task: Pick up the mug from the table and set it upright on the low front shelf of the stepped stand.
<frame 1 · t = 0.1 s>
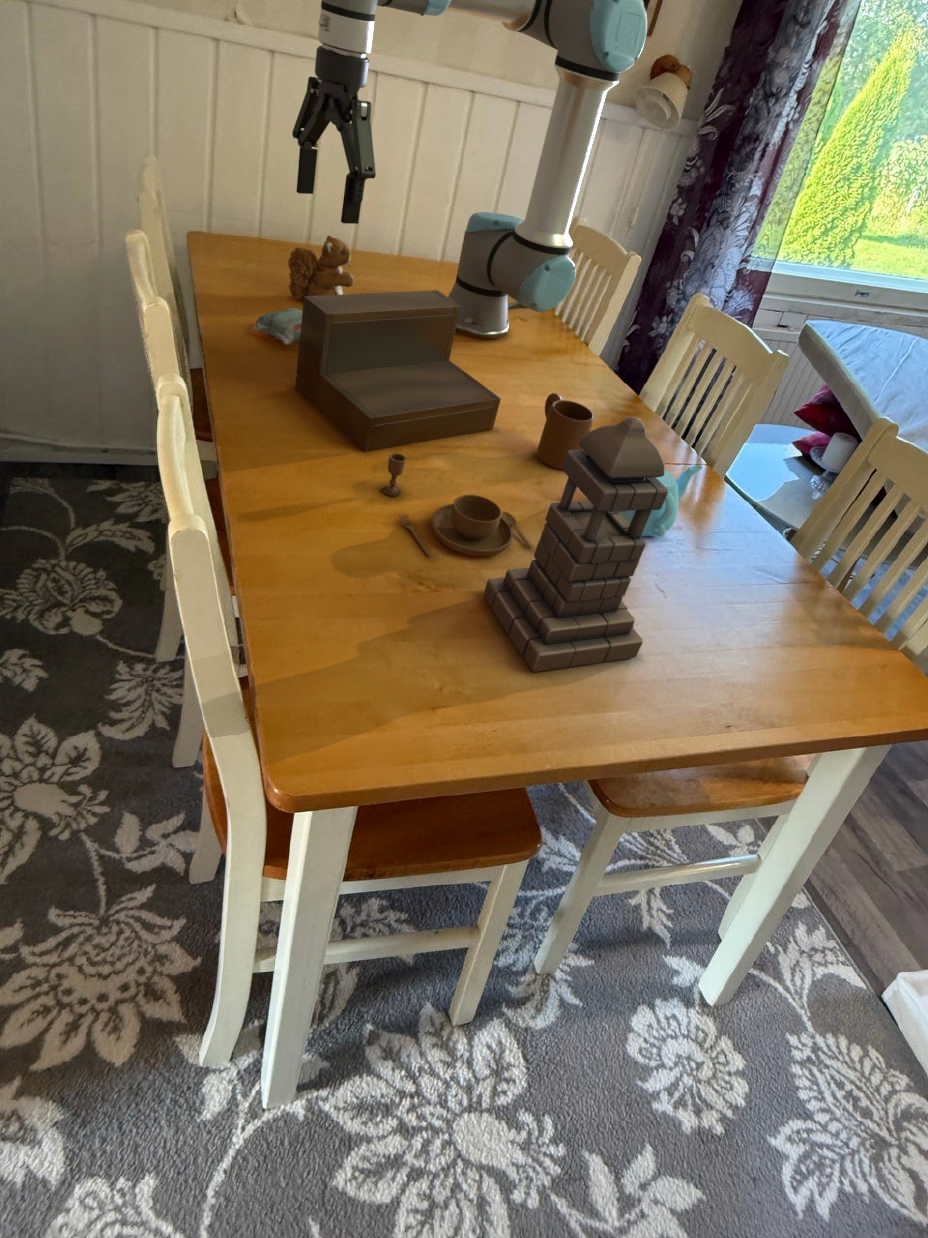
hand: (326, 207, 135), 28 cm above the table, tool pointing down, fingers open, 13 cm apart
stuffed squirrel: (317, 302, 179), on the table
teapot: (633, 524, 136), on the table
stepped stand: (395, 409, 149), on the table
packaged food: (292, 340, 162), on the table
place setting: (456, 521, 125), on the table
mug: (551, 454, 149), on the table
miniature tower: (559, 628, 111), on the table
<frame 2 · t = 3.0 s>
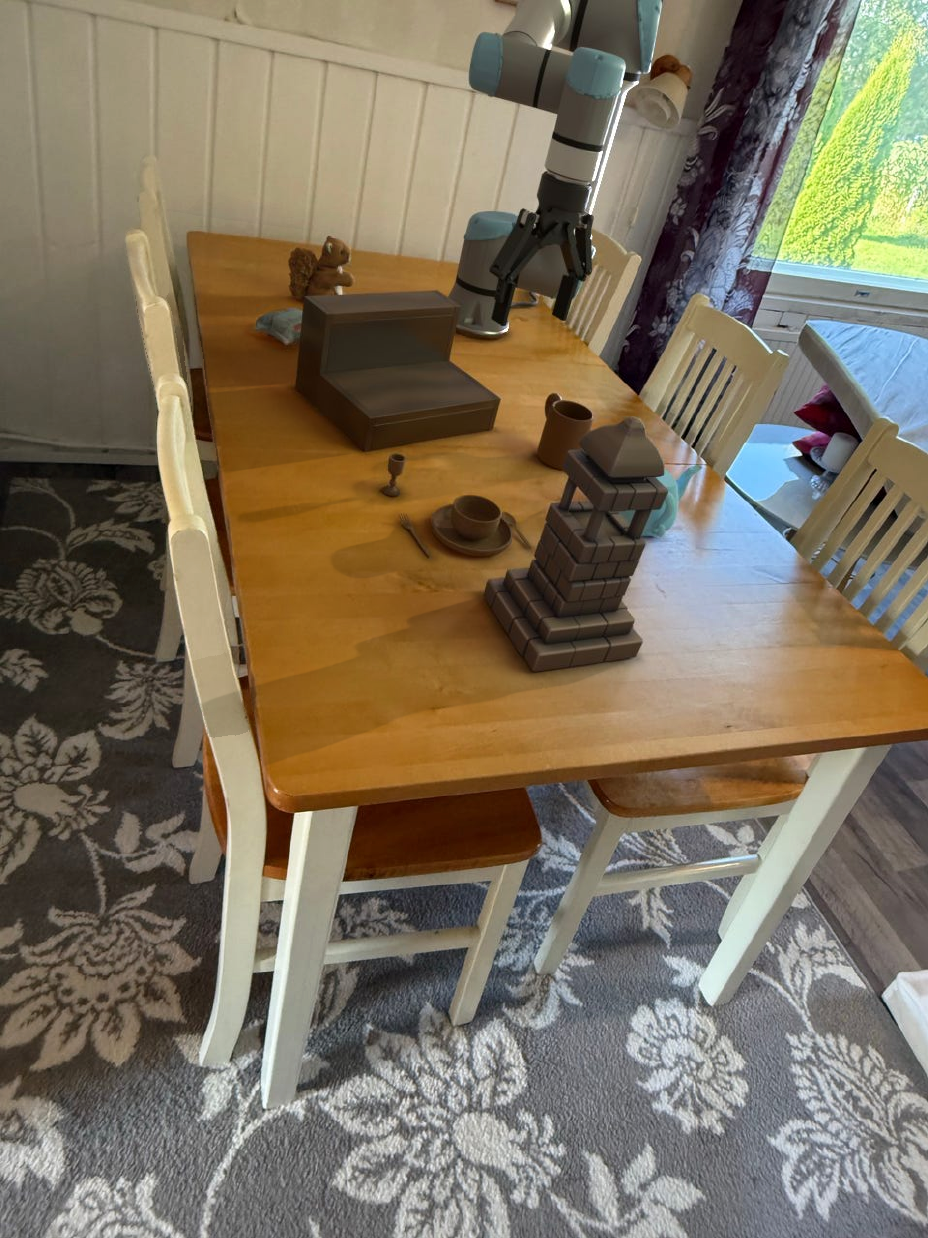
hand: (529, 320, 136), 21 cm above the table, tool pointing down, fingers open, 13 cm apart
nothing on the table moved.
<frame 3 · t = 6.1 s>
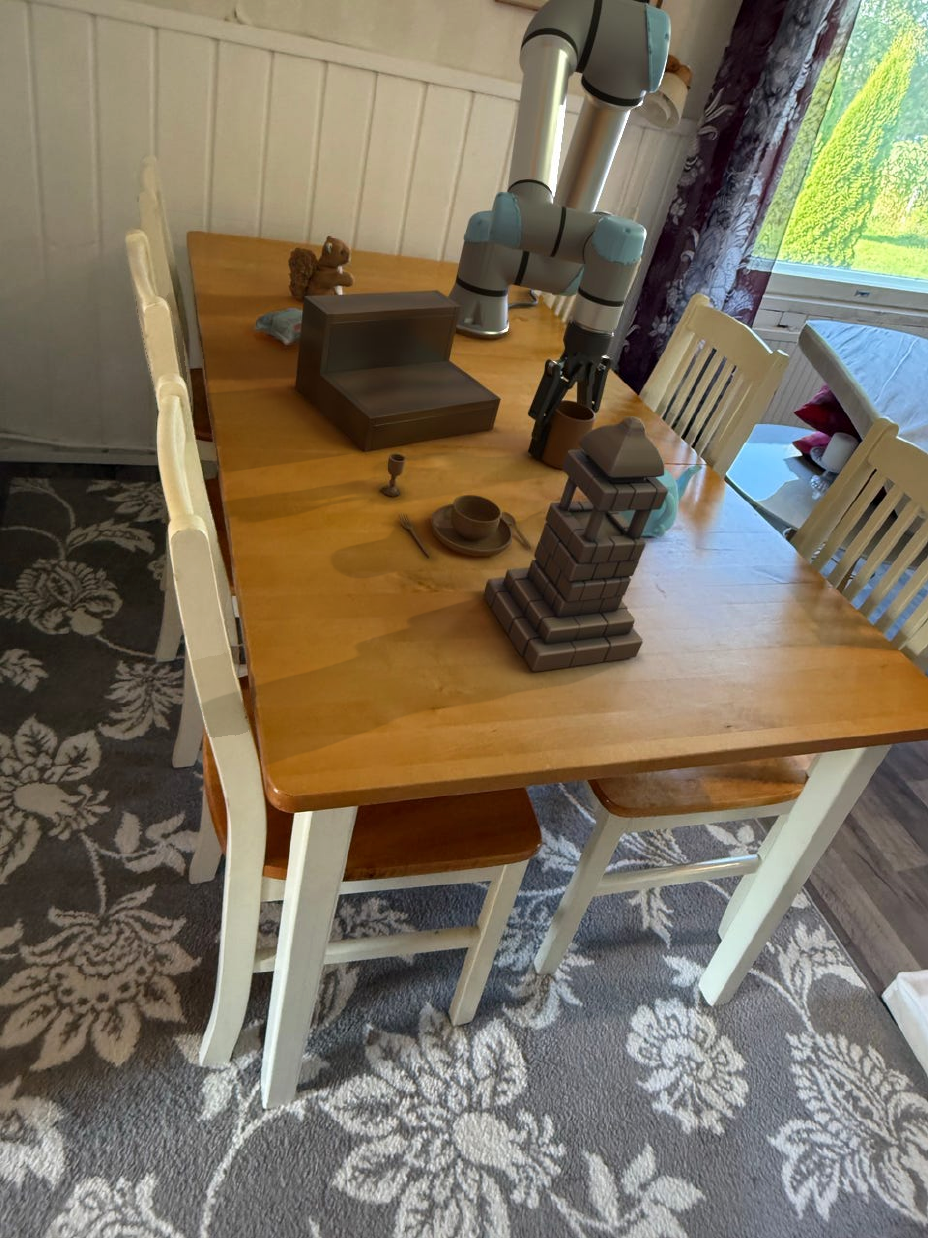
hand: (551, 451, 148), 0 cm above the table, tool pointing down, fingers closed on mug, 8 cm apart
mug: (552, 453, 149), on the table, touching gripper
everything else where it was.
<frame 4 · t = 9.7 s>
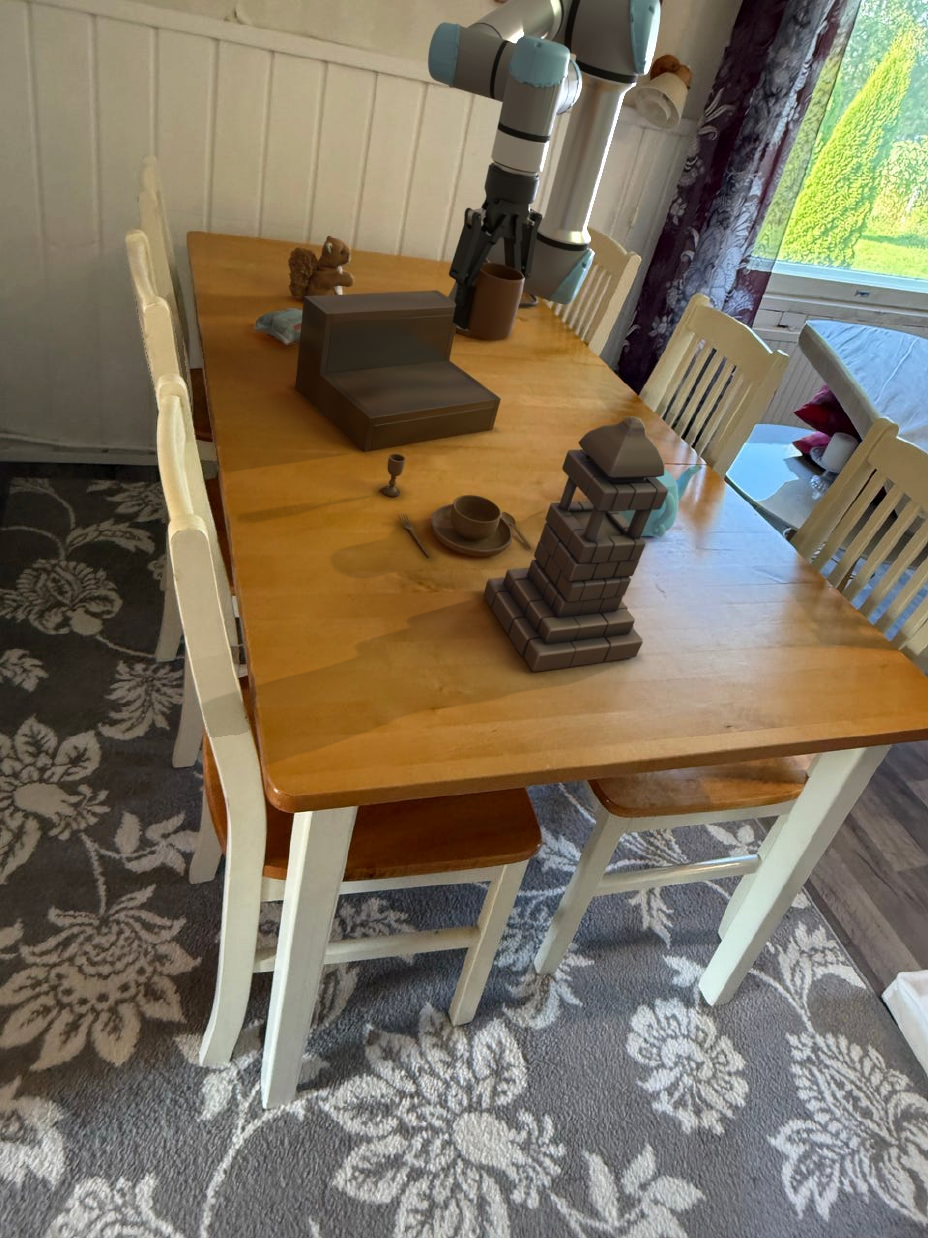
hand: (479, 323, 135), 19 cm above the table, tool pointing down, fingers closed on mug, 7 cm apart
mug: (481, 326, 136), point 18 cm above the table, touching gripper
everything else where it was.
when the fingers open (6 cm above the table, at t = 13.7 s): mug stays where it is, resting on stepped stand.
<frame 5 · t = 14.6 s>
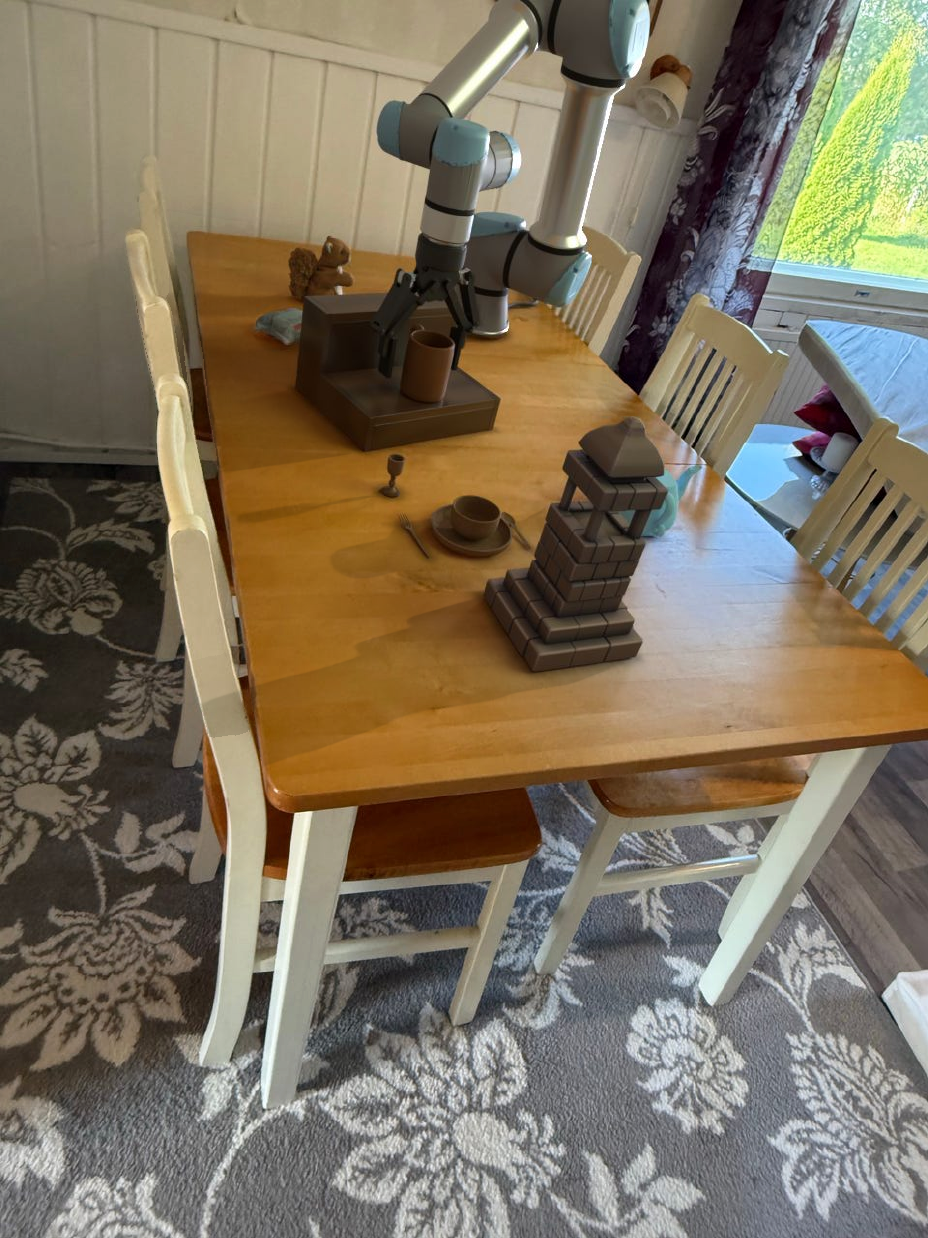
hand: (418, 370, 141), 9 cm above the table, tool pointing down, fingers open, 13 cm apart
mug: (417, 388, 143), point 6 cm above the table, touching stepped stand
everything else where it was.
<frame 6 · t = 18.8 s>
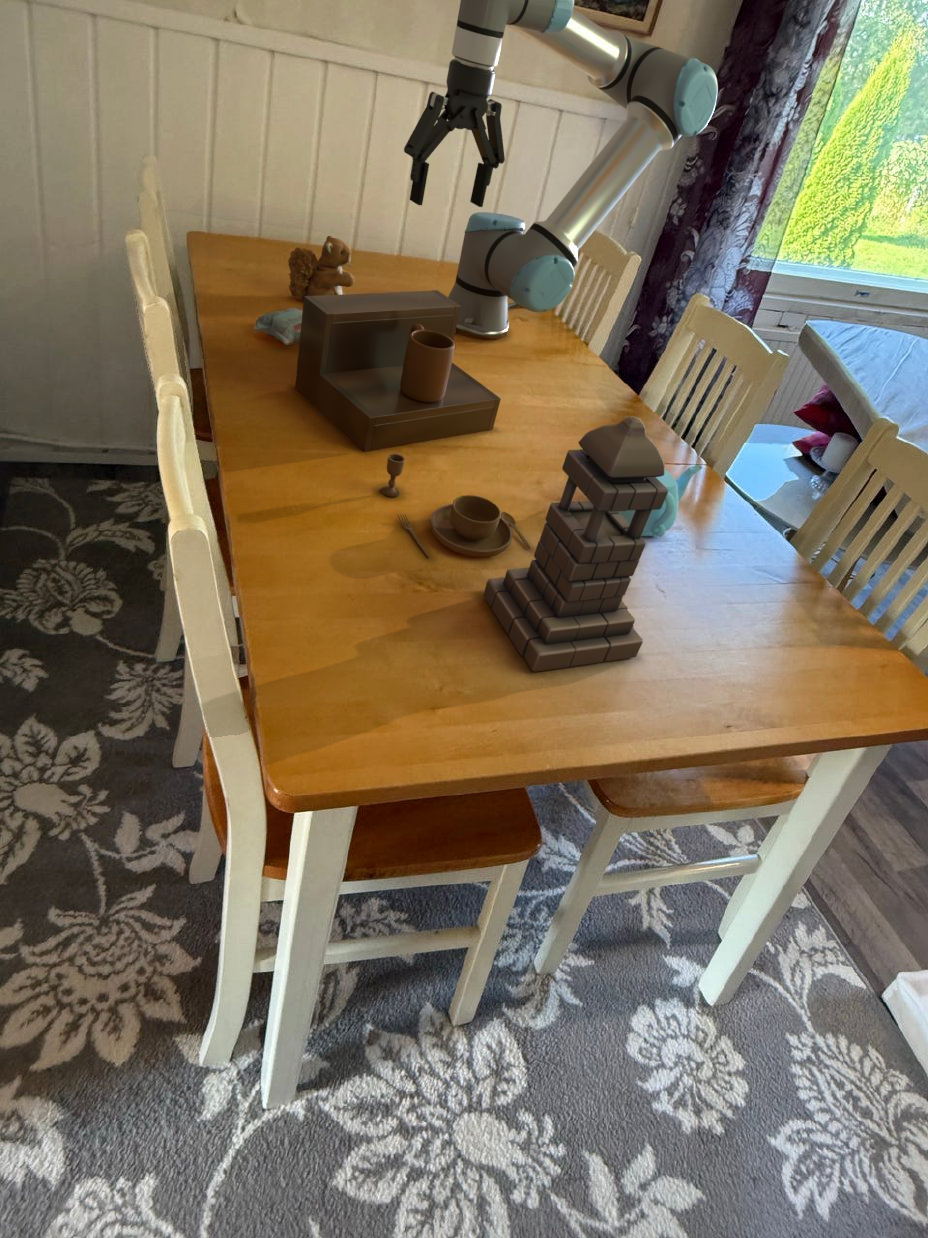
hand: (446, 203, 150), 29 cm above the table, tool pointing down, fingers open, 13 cm apart
nothing on the table moved.
at the end: mug inside the target area on the stepped stand (0.6 cm from its centre), point 5.8 cm above the stepped stand's base; mug tilted 0°; mug touching stepped stand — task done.
